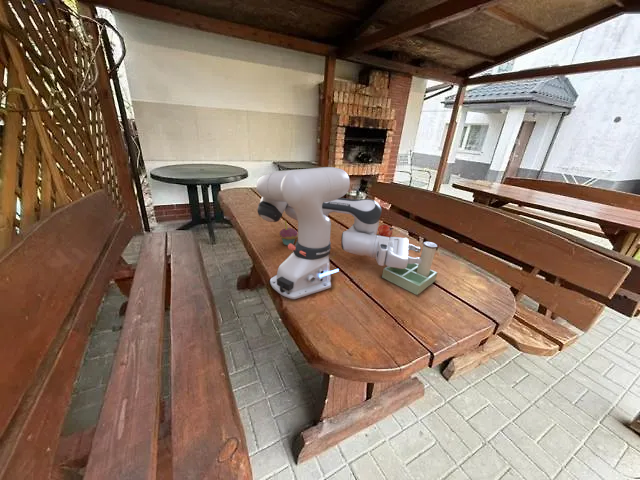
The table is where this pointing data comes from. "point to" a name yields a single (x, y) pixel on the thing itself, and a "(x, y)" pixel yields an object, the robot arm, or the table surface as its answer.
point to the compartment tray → (409, 278)
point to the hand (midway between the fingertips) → (420, 255)
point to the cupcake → (288, 235)
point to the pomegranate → (385, 230)
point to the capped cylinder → (426, 258)
